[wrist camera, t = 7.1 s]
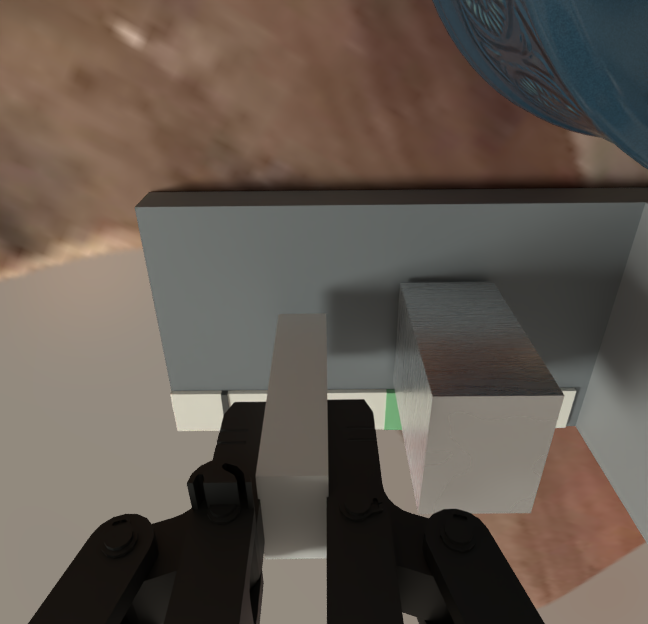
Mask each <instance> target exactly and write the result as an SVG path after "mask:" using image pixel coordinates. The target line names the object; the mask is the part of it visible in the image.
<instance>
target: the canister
mask: <svg viewBox="0 0 648 624" xmlns="http://www.w3.org/2000/svg"><path fill="white" fill-rule="evenodd" d="M432 1H433V3H434V6H435V8H436V10H437V12H438V15H439V17H440V19H441V21H442V22H443V24H444V26H445V28H446V30H447V32H448V34H449V35H450V37H451V38H452V40H453V42H454V43H455V45H456V46H457V48H458V49H459V51H460V52H461V54H462V55H463V56H464V57H465V59H466V60H467V61H468V63H469V64H470V65H471V66H472V67H473V69H474V70H475V71H476V72H477V73H478V74H479V75H480V76H481V77H482V78H483V79H484V80H485V81H486V82H487V83H488V84H489V85H490V86H491V87H493V88H494V89H495V90H496V91H497V92H498V93H500V94H501V95H502V96H504V97H505V98H506V99H508V100H509V101H511V102H512V103H514V104H515V105H517V106H519V107H520V108H522V109H524V110H525V111H527V112H529V113H531V114H533V115H535V116H536V117H538V118H540V119H542V120H545V121H547V122H549V123H551V124H553V125H556V126H558V127H561V128H564V129H567V130H569V131H573V132H577V133H581V134H584V135H589V136H595V137H600V138H603V139H605V140H607V141H609V142H611V143H614V144H615V145H616V146H617V147H618V148H620V149H621V150H622V151H623V152H625V153H626V154H627V155H629V156H630V157H631V158H633V159H634V160H635V161H637V162H638V163H639V164H641V165H642V166H643V167H645V168H647V169H648V0H432Z"/></svg>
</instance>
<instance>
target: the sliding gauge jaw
mask: <svg viewBox="0 0 648 624" xmlns="http://www.w3.org/2000/svg"><path fill="white" fill-rule="evenodd" d="M393 384H394V389H395V395H396V400H397V405H398V410H399V416H400V421H401V426H402V432H403V437H404V442H405V447H406V453H407V457H408V463H409V468H410V473H411V479H412V484H413V490H414V495H415V500H416V505H417V511H418V514H434V513H436V512H438V511H441V510H443V509H459V510H463V511H466V512H469V513H531V510H532V507H533V503H534V500H535V496H536V493H537V489H538V486H539V483H540V479H541V476H542V472H543V469H544V465H545V462H546V458H547V455H548V451H549V448H550V444H551V441H552V437H553V434H554V430H555V427H556V424H557V420H558V417H559V413H560V410H561V406H562V403H563V399H564V396H565V395H564V394H563V392H562V391H561V389H560V388H559V386H558V384H557V383H556V381H555V380H554V378H553V376H552V375H551V373H550V372H549V370H548V368H547V367H546V365H545V364H544V362H543V360H542V359H541V357H540V356H539V354H538V352H537V351H536V349H535V348H534V346H533V344H532V343H531V341H530V340H529V338H528V336H527V335H526V333H525V332H524V330H523V329H522V327H521V325H520V324H519V322H518V321H517V319H516V317H515V316H514V314H513V313H512V311H511V309H510V308H509V306H508V305H507V303H506V301H505V300H504V298H503V297H502V295H501V293H500V292H499V290H498V289H497V287H496V285H495V284H494V282H423V283H400V292H399V306H398V320H397V333H396V347H395V361H394V374H393Z"/></svg>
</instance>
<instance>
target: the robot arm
mask: <svg viewBox="0 0 648 624" xmlns="http://www.w3.org/2000/svg"><path fill="white" fill-rule="evenodd" d="M187 486H188V491H189V496H190V500H191V505H192V508H191V509H190V510H188V511H187V512H185V513H183V514H181V515H179V516H176V517H174V518H171V519H167V520H164V521H161V522H157V523H154V524H151V523H150V522H149V520H148V519H147V518H145V517H143V516H141V515H138V514H124V515H120V516H117V517H113V518H112V519H110V520H108V521H106V522H105V523H103V524H102V525H100V526H99V527H98V528H97V529H96V530H95V532H94V533H93V534H92V535H91V536H90V538H89V539H88V540H87V542H86V543H85V544H84V546H83V547H82V549H81V550H80V551H79V553H78V554H77V556H76V557H75V558H74V560H73V561H72V563H71V564H70V565H69V567H68V568H67V570H66V571H65V572H64V574H63V576H62V577H61V578H60V580H59V581H58V582H57V584H56V585H55V587H54V588H53V589H52V591H51V592H50V594H49V595H48V596H47V598H46V599H45V601H44V602H43V603H42V605H41V606H40V608H39V609H38V611H37V612H36V613H35V615H34V616H33V617H32V619H31V620H30V622H29V623H28V624H260V614H261V603H262V594H263V584H264V583H263V574H262V564H263V554H265V559H309V558H310V559H313V558H327V624H404V623H403V615H402V612H403V613H406V614H409V615H412V616H415V617H417V619H418V622H419V624H545V623H544V622H543V620H542V618H541V617H540V615H539V613H538V612H537V610H536V608H535V607H534V605H533V603H532V602H531V600H530V598H529V597H528V595H527V593H526V592H525V590H524V588H523V587H522V585H521V583H520V582H519V580H518V578H517V577H516V575H515V573H514V572H513V570H512V568H511V567H510V565H509V563H508V562H507V560H506V558H505V557H504V555H503V553H502V552H501V550H500V548H499V547H498V545H497V543H496V542H495V540H494V538H493V537H492V535H491V533H490V532H489V530H488V528H487V527H486V526H485V525H484V524H483V523H482V521H481V520H480V519H479V518H477V517H475V516H474V515H472V514H471V513H469V512H466V511H463V510H459V509H443V510H441V511H438V512H436V513H434V514H433V515H432V516H431V517H430V518H425V517H422V516H418V515H415V514H411V513H409V512H406V511H403V510H402V509H400V508H399V507H397V506H396V505H394V504H393V503H392V502H391V501H390V500H389V499H388V497H387V495H386V494H385V492H384V489H383V485H382V478H381V470H380V462H379V454H378V446H377V438H376V430H375V422H374V414H373V411H372V410H371V408H370V407H369V405H368V404H367V403H366V401H365V400H364V399H337V400H327V334H326V313H320V314H279V315H278V322H277V329H276V336H275V343H274V350H273V357H272V364H271V371H270V378H269V385H268V392H267V399H266V402H234V403H233V404H232V405H231V407H230V408H229V409H228V410H227V412H226V413H225V414H224V415H223V420H222V424H221V428H220V433H219V436H218V440H217V445H216V448H215V452H214V457H213V460H212V461H210V462H208V463H206V464H204V465H202V466H200V467H199V468H198V469H197V470H195V471H194V472H193V473H192V475H191V476H190V478H189V480H188V482H187Z"/></svg>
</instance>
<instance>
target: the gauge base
mask: <svg viewBox="0 0 648 624" xmlns="http://www.w3.org/2000/svg"><path fill="white" fill-rule="evenodd" d="M135 211H136V216H137V221H138V226H139V231H140V236H141V241H142V246H143V251H144V256H145V260H146V266H147V271H148V276H149V281H150V285H151V291H152V296H153V301H154V306H155V311H156V316H157V320H158V326H159V331H160V336H161V341H162V346H163V351H164V355H165V360H166V366H167V370H168V376H169V381H170V386H171V394H170V396H171V401H172V406H173V411H174V416H175V421H176V426H177V430H178V431H217V430H218V431H220V428H221V424H222V420H223V415H224V414H225V413H226V412H227V410H228V409H229V408H230V407H231V405H232V404H233V403H234V402H266V399H267V392H268V385H269V378H270V371H271V364H272V357H273V350H274V343H275V336H276V329H277V322H278V315H279V314H320V313H326V334H327V400H337V399H364V400H365V401H366V403H367V404H368V405H369V407H370V408H371V410H372V411H373V414H374V422H375V429H384V430H402V426H401V421H400V416H399V410H398V405H397V400H396V395H395V389H394V384H393V374H394V361H395V347H396V333H397V320H398V306H399V292H400V283H423V282H494V284H495V285H496V287H497V289H498V290H499V292H500V293H501V295H502V297H503V298H504V300H505V301H506V303H507V305H508V306H509V308H510V309H511V311H512V313H513V314H514V316H515V317H516V319H517V321H518V322H519V324H520V325H521V327H522V329H523V330H524V332H525V333H526V335H527V336H528V338H529V340H530V341H531V343H532V344H533V346H534V348H535V349H536V351H537V352H538V354H539V356H540V357H541V359H542V360H543V362H544V364H545V365H546V367H547V368H548V370H549V372H550V373H551V375H552V376H553V378H554V380H555V381H556V383H557V384H558V386H559V388H560V389H561V391H562V392H563V394H564V395H565V396H564V399H563V403H562V406H561V410H560V413H559V417H558V420H557V424H556V427H555V428H565V427H566V426H576V427H577V429H578V431H579V432H580V434H581V436H582V437H583V439H584V441H585V442H586V444H587V446H588V447H589V449H590V450H591V452H592V454H593V455H594V457H595V459H596V460H597V462H598V464H599V465H600V467H601V469H602V470H603V472H604V474H605V475H606V477H607V478H608V480H609V482H610V483H611V485H612V487H613V488H614V490H615V492H616V493H617V495H618V497H619V498H620V500H621V501H622V503H623V505H624V506H625V508H626V510H627V511H628V513H629V515H630V516H631V518H632V520H633V521H634V523H635V524H636V526H637V528H638V529H639V531H640V533H641V534H642V536H643V538H644V539H645V541H646V543H647V544H648V187H646V188H541V189H436V190H330V191H225V192H149V193H148V194H147V195H146V196H145V197H144V198H143V199H142V200H141V201H140V202H139V203H138V204H137V205H136V206H135Z"/></svg>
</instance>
